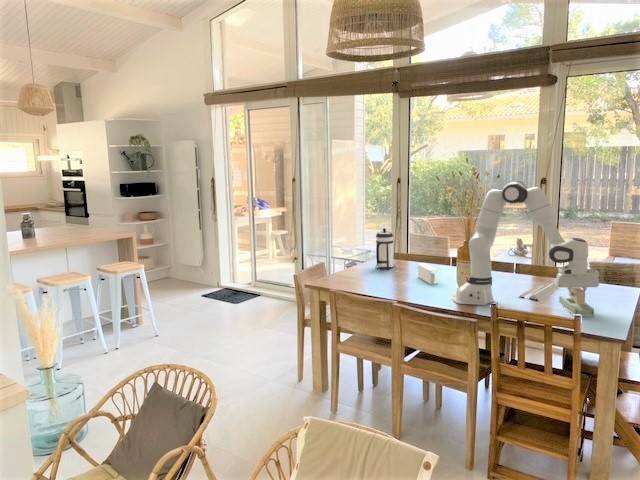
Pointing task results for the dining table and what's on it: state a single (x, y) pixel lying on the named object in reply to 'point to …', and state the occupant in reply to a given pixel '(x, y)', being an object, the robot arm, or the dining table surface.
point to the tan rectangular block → (578, 295)
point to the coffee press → (384, 249)
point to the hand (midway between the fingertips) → (576, 295)
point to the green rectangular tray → (577, 307)
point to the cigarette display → (426, 273)
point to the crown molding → (540, 293)
